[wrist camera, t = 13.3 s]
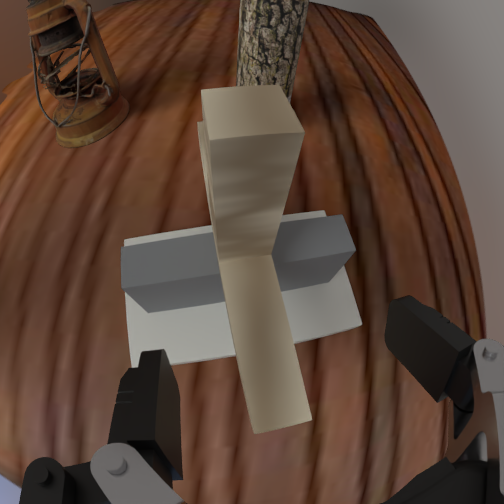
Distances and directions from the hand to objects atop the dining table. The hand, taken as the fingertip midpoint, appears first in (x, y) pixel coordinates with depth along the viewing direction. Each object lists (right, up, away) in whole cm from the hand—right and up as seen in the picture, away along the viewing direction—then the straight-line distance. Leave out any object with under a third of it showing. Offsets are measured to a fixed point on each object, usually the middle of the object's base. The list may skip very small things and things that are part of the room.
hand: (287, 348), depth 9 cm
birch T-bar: (-2, +3, +10) cm, 10 cm away
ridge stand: (-3, 0, +17) cm, 17 cm away
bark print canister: (0, +20, +27) cm, 34 cm away
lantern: (-26, +24, +27) cm, 44 cm away
